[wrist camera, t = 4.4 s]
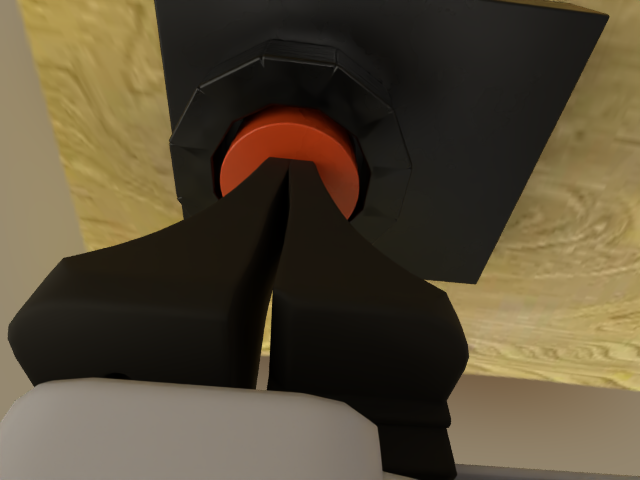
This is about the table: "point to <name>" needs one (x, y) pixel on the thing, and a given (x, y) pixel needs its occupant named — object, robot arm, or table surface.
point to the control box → (385, 104)
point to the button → (295, 150)
